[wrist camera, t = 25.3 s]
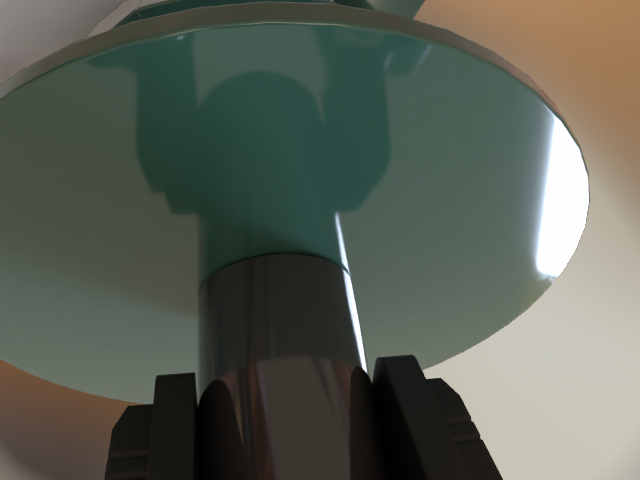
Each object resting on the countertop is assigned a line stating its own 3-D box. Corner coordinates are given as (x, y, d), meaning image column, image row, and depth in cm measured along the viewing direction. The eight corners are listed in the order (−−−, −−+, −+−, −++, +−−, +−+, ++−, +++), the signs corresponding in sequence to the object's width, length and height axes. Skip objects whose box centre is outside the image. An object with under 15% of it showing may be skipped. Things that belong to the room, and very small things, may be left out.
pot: (-5, 250, 24) (-62, 351, 19) (200, -210, 18) (200, -254, 12) (265, 348, 30) (279, 447, 24) (498, 24, 23) (589, 64, 18)
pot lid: (-97, 343, 15) (-209, 684, 11) (-3, -263, 6) (-490, 438, 2) (345, 394, 22) (380, 612, 18) (699, 158, 13) (937, 489, 9)
